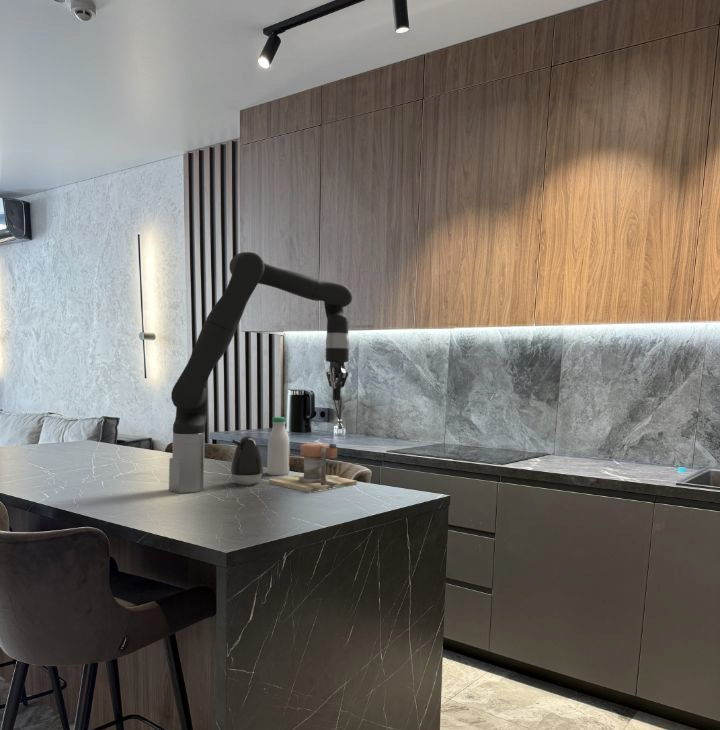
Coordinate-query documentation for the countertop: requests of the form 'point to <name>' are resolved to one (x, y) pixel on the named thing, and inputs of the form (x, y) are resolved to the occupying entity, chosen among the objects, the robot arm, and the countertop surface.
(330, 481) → the post board
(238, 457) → the pump dispenser
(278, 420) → the milk bottle
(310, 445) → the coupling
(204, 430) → the robot arm
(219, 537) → the countertop surface
